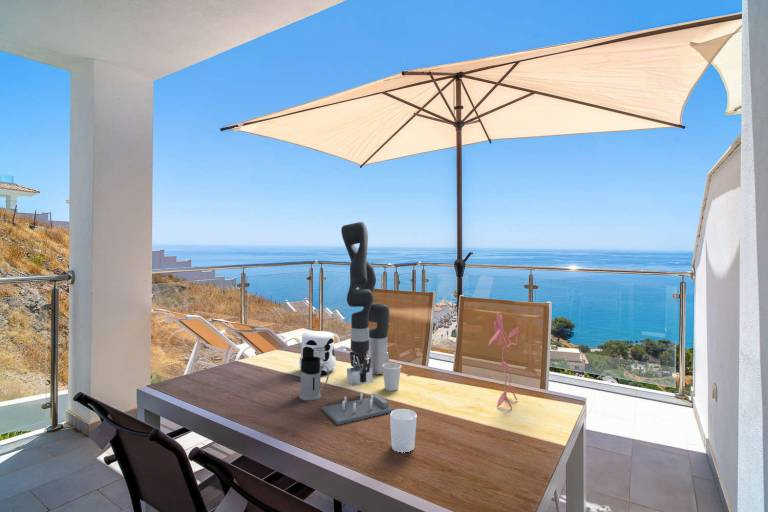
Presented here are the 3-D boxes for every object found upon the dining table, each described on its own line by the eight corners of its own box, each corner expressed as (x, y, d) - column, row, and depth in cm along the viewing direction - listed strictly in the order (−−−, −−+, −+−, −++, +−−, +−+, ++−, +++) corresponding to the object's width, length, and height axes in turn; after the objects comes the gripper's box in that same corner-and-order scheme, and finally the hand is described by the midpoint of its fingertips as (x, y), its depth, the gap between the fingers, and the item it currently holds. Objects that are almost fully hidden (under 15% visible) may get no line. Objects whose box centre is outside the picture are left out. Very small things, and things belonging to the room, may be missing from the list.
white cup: (388, 441, 117) (388, 408, 117) (413, 440, 118) (414, 408, 118) (391, 454, 109) (391, 420, 109) (418, 454, 110) (418, 419, 110)
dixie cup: (390, 393, 157) (391, 369, 157) (377, 388, 164) (378, 365, 164) (405, 389, 163) (405, 365, 163) (392, 384, 169) (392, 361, 169)
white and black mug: (310, 390, 160) (311, 354, 160) (335, 398, 152) (336, 360, 152) (294, 397, 153) (294, 359, 153) (320, 405, 145) (320, 365, 145)
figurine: (524, 394, 158) (523, 309, 158) (509, 417, 135) (508, 318, 136) (487, 388, 165) (486, 307, 166) (467, 409, 143) (466, 315, 144)
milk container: (317, 364, 199) (318, 329, 198) (342, 370, 188) (343, 333, 188) (291, 372, 185) (292, 335, 184) (317, 379, 174) (317, 340, 174)
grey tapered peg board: (374, 399, 151) (375, 387, 151) (393, 412, 139) (393, 399, 139) (322, 410, 140) (322, 397, 140) (337, 425, 128) (337, 411, 128)
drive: (367, 378, 160) (367, 365, 160) (372, 382, 155) (372, 368, 155) (347, 382, 155) (347, 368, 155) (352, 385, 151) (352, 371, 151)
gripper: (376, 340, 151) (376, 383, 151) (359, 334, 163) (359, 373, 163) (360, 343, 147) (360, 387, 147) (343, 336, 159) (344, 376, 160)
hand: (360, 379), depth 155 cm, fingers closed on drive, 5 cm apart
